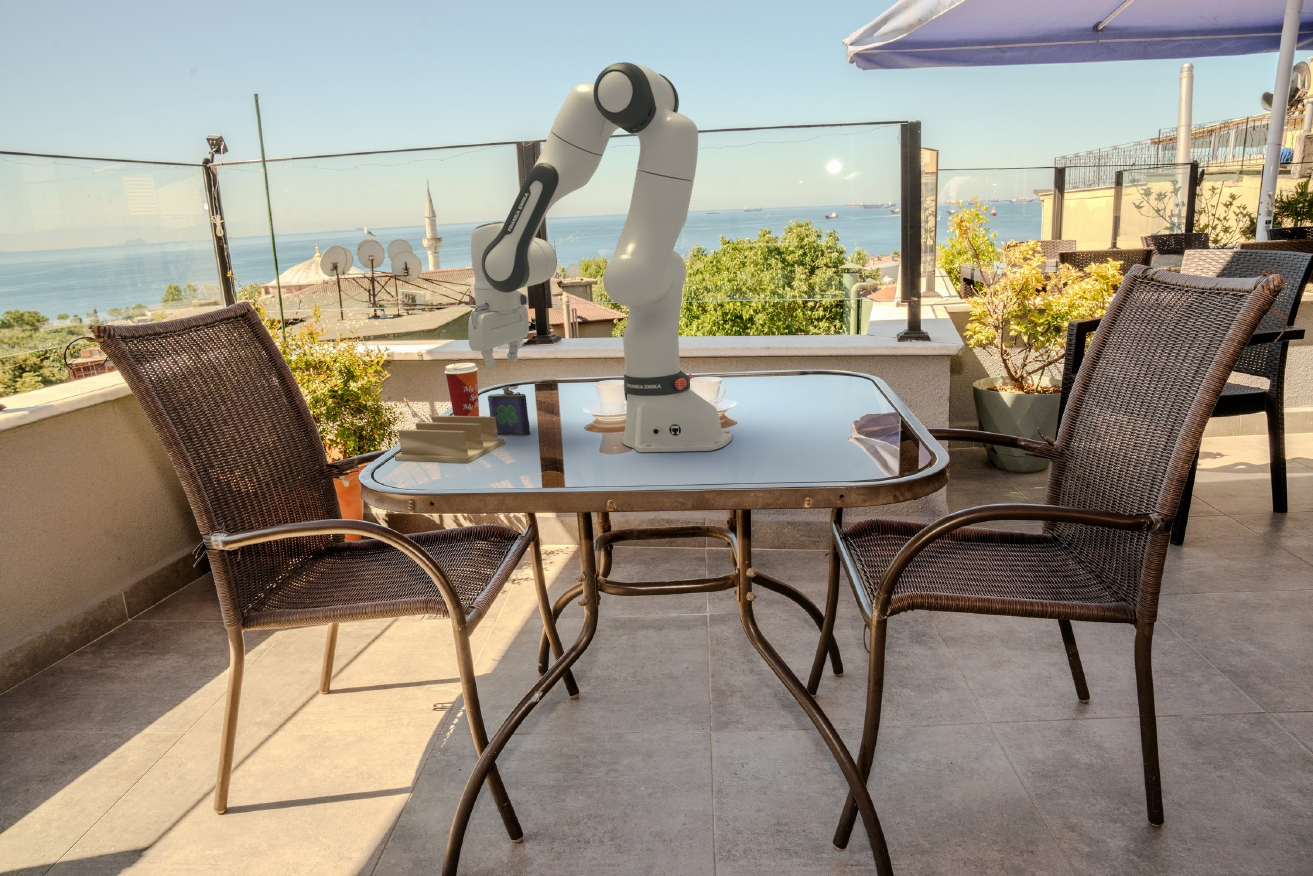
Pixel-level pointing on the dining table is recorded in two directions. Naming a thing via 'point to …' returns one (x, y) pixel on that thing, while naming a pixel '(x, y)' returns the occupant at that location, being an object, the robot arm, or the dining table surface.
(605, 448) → the dining table surface
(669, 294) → the robot arm
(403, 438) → the rack
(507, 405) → the flask
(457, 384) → the paper cup
